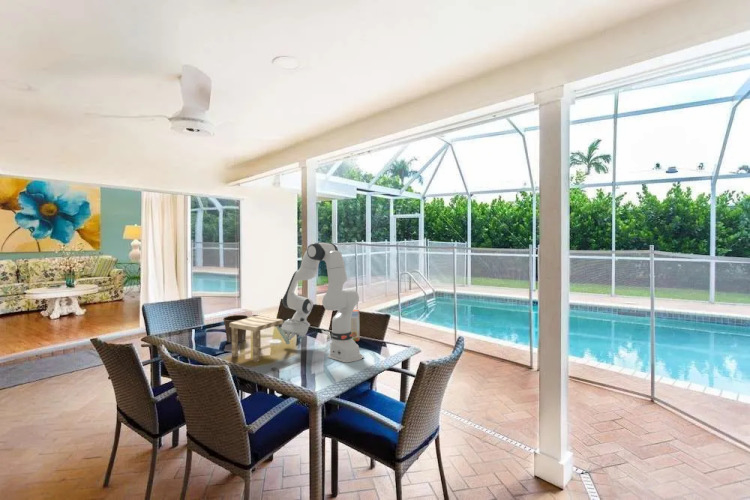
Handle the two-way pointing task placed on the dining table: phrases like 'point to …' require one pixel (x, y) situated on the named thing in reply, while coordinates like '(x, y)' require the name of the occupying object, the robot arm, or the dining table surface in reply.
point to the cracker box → (355, 325)
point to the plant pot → (229, 330)
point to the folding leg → (283, 334)
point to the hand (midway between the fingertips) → (288, 339)
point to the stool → (255, 326)
